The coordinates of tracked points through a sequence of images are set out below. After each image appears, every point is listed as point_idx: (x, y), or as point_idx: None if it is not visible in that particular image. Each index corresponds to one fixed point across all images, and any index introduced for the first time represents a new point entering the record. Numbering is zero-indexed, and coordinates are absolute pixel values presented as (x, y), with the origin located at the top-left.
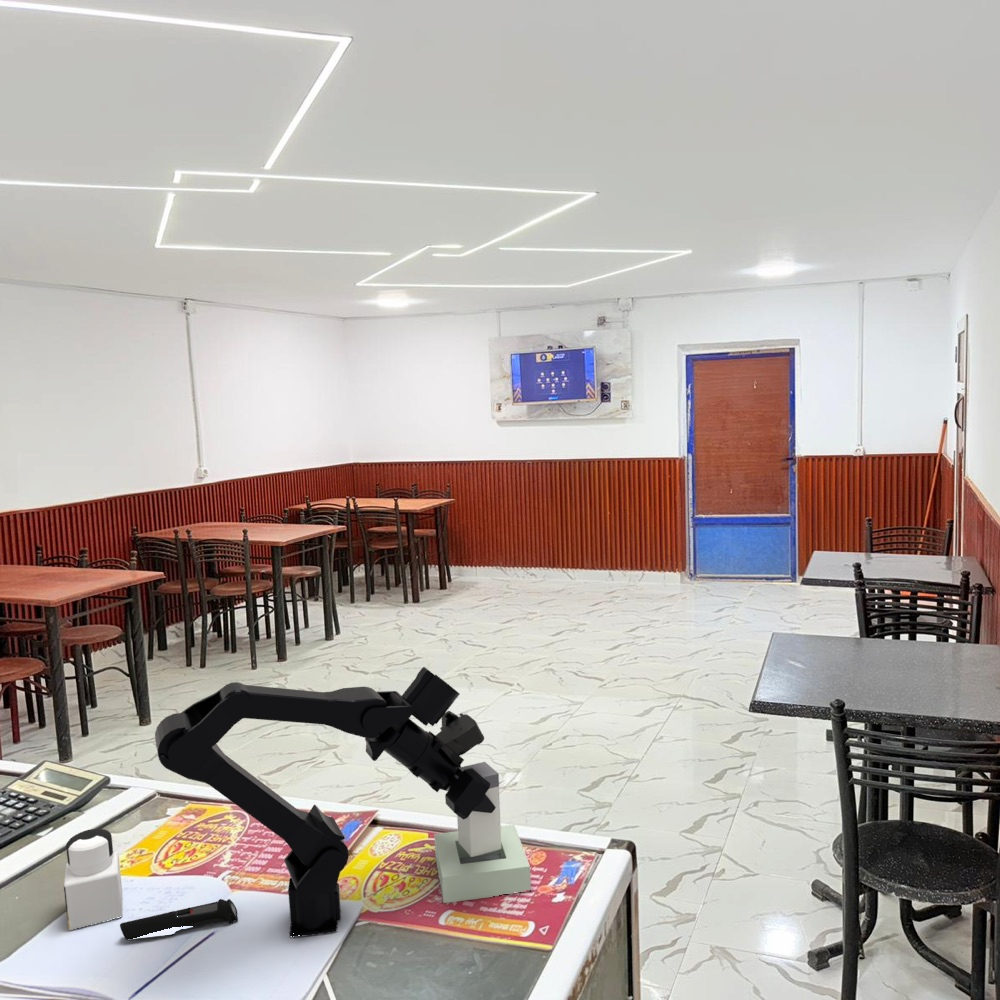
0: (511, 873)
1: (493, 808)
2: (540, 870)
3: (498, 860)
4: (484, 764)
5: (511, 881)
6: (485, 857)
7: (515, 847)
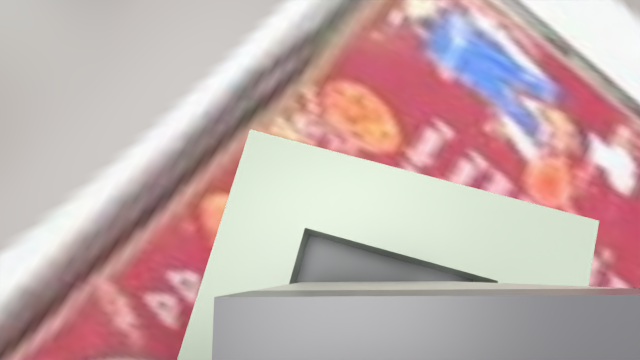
0: None
1: None
2: (439, 144)
3: None
4: (315, 354)
5: None
6: None
7: (430, 207)
